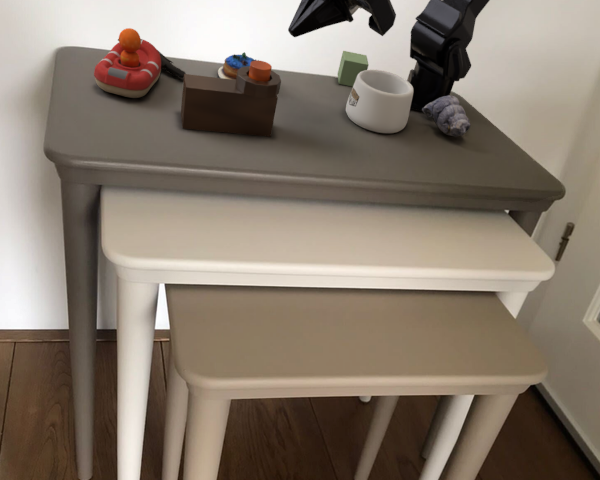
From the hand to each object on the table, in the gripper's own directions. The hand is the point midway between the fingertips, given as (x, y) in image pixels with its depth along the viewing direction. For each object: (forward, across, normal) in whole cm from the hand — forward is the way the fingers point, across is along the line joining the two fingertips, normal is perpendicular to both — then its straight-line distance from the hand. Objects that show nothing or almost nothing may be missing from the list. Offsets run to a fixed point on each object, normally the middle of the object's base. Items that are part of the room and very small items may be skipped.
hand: (290, 33), depth 86 cm
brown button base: (+14, -1, +4) cm, 15 cm away
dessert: (+7, -14, +12) cm, 19 cm away
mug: (-4, +1, +22) cm, 22 cm away
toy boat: (+20, -16, -1) cm, 25 cm away
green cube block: (-7, -10, +25) cm, 27 cm away
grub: (-10, +8, +28) cm, 31 cm away
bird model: (+16, -19, 0) cm, 25 cm away
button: (+7, 0, +1) cm, 7 cm away
